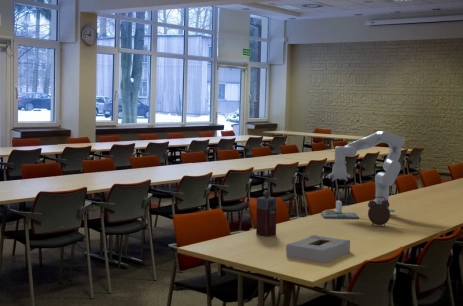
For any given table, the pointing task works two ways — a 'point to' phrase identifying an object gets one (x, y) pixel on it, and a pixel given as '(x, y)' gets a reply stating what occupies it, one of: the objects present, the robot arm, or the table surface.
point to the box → (318, 248)
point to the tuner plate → (340, 215)
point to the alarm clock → (378, 212)
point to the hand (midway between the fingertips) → (339, 186)
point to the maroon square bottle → (266, 215)
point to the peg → (338, 208)
